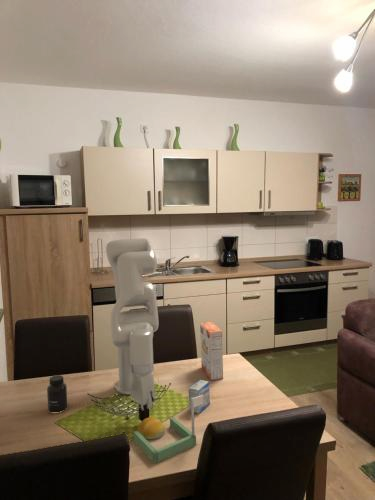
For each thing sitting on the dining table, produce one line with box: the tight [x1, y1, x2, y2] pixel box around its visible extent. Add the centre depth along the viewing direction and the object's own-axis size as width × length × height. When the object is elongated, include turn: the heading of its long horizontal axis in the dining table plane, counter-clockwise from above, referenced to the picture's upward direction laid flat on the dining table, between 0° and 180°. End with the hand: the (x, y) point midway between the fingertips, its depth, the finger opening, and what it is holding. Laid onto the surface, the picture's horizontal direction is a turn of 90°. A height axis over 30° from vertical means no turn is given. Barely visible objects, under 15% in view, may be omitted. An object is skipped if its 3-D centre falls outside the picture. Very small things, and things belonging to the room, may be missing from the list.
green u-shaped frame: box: [133, 395, 203, 464], centre depth 119 cm, size 13×18×15 cm
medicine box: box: [187, 379, 211, 414], centre depth 139 cm, size 8×4×9 cm, turn 148°
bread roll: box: [137, 416, 166, 440], centre depth 125 cm, size 8×9×4 cm
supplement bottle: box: [46, 374, 69, 413], centre depth 140 cm, size 7×7×12 cm
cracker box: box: [199, 321, 224, 381], centre depth 167 cm, size 14×6×21 cm, turn 14°
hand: (144, 419), depth 130 cm, fingers closed
